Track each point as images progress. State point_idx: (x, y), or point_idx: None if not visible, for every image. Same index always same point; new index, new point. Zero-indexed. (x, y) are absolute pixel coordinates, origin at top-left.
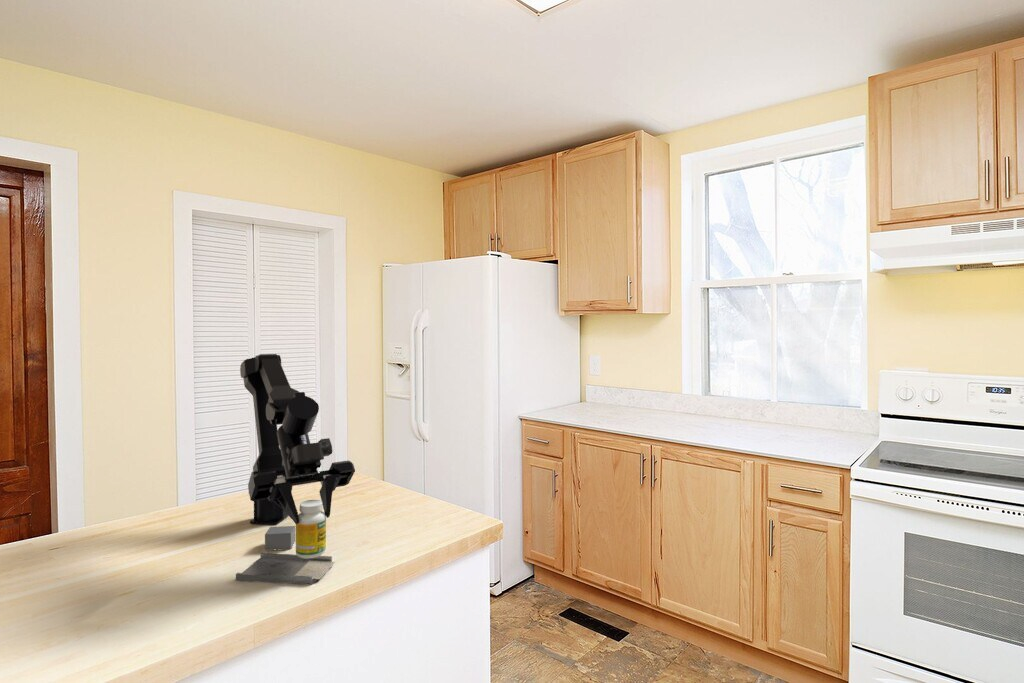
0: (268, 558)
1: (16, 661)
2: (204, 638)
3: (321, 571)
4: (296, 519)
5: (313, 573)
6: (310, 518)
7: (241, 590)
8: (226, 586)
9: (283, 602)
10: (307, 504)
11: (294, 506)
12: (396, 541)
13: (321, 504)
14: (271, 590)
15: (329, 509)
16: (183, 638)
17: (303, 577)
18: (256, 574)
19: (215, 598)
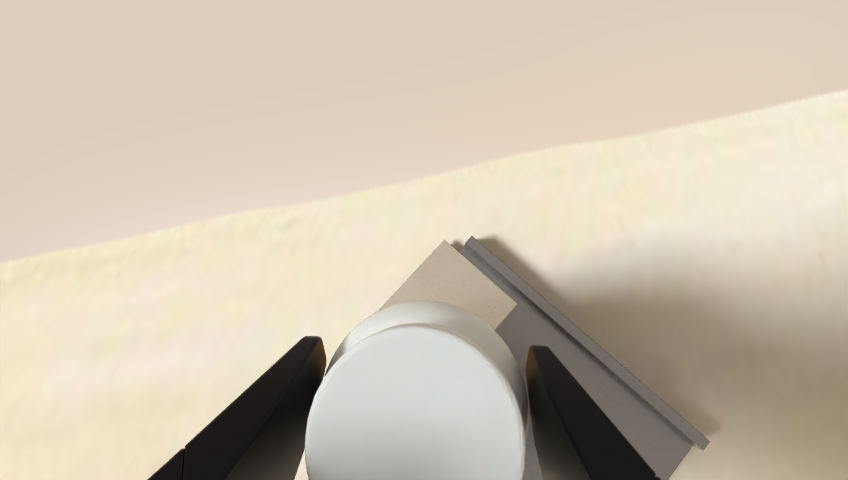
0: None
1: None
2: (787, 115)
3: (420, 289)
4: (551, 353)
5: (447, 291)
6: (453, 323)
7: (678, 337)
8: (725, 403)
9: (572, 182)
10: (458, 418)
11: (587, 444)
12: (80, 401)
13: (338, 360)
14: (589, 277)
15: (287, 358)
16: (840, 144)
17: (494, 255)
18: (636, 383)
19: (762, 330)
